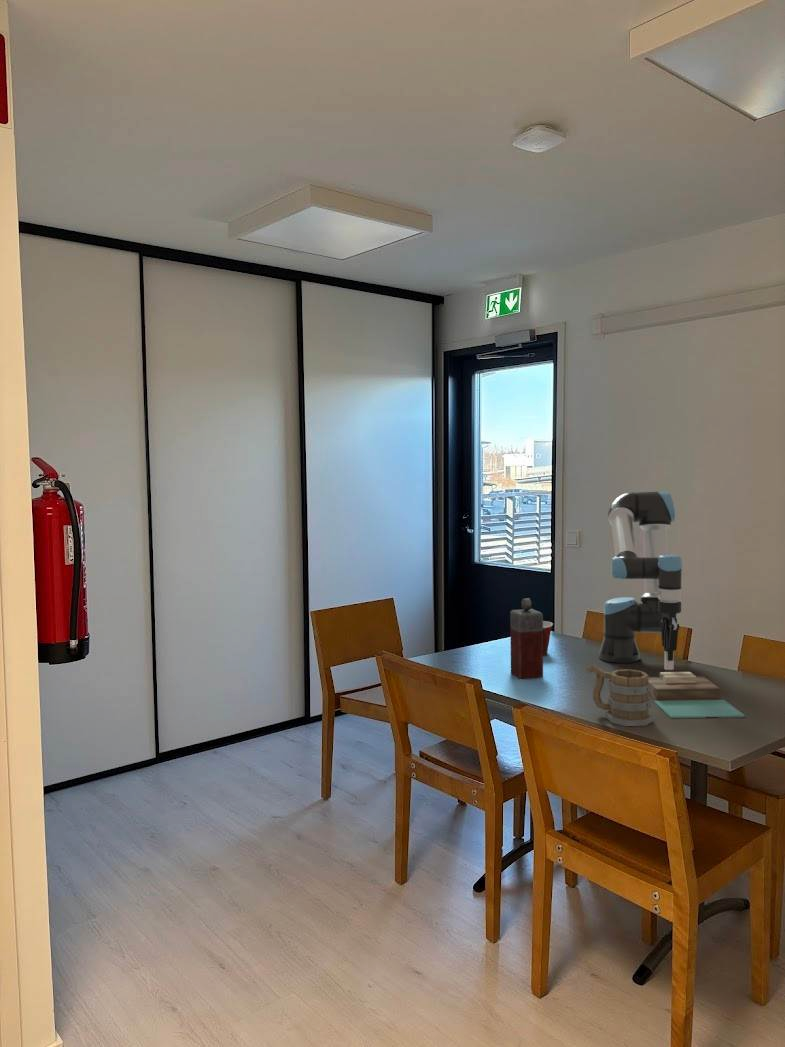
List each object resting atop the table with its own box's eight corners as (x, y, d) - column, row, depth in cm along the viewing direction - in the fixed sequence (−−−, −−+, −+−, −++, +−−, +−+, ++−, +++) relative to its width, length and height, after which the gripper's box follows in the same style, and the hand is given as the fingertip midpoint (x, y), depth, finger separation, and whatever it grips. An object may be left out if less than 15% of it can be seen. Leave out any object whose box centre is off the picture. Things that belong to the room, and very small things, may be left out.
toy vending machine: (549, 677, 292) (549, 599, 290) (519, 679, 289) (519, 601, 287) (539, 670, 301) (538, 595, 298) (510, 673, 298) (509, 597, 296)
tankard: (658, 718, 244) (659, 669, 243) (639, 729, 235) (640, 678, 234) (597, 706, 257) (597, 659, 256) (577, 716, 248) (577, 667, 247)
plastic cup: (520, 651, 331) (520, 621, 330) (544, 648, 335) (544, 619, 334) (533, 657, 321) (533, 627, 320) (558, 654, 324) (557, 624, 323)
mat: (654, 702, 260) (654, 700, 260) (723, 701, 260) (723, 699, 260) (670, 718, 244) (670, 716, 244) (744, 717, 244) (744, 715, 244)
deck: (643, 689, 275) (643, 677, 274) (703, 688, 274) (703, 676, 274) (656, 701, 261) (656, 689, 260) (719, 700, 260) (719, 688, 260)
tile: (659, 678, 273) (659, 672, 273) (689, 677, 273) (689, 671, 273) (665, 683, 267) (665, 677, 267) (696, 682, 267) (696, 676, 267)
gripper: (652, 597, 284) (652, 664, 286) (664, 604, 271) (664, 674, 273) (674, 597, 284) (673, 664, 285) (687, 603, 271) (686, 674, 272)
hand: (669, 669), depth 279 cm, fingers closed
